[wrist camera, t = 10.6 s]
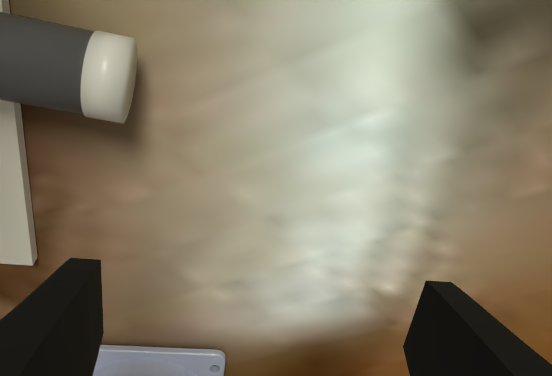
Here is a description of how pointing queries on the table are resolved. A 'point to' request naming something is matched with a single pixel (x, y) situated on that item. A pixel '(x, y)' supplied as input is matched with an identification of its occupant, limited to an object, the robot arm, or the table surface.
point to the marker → (66, 68)
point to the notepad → (14, 186)
